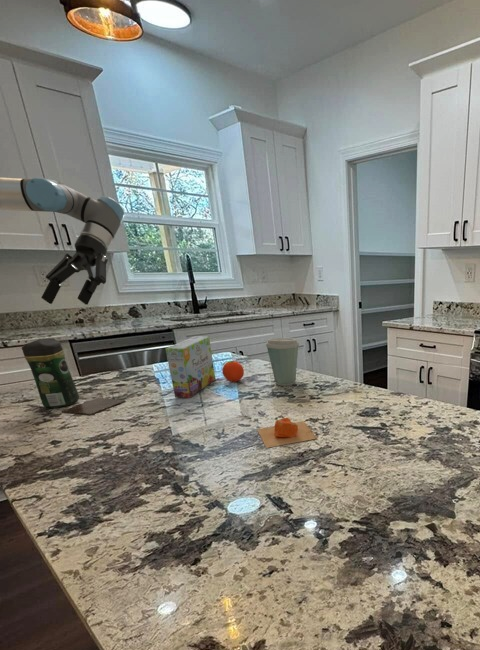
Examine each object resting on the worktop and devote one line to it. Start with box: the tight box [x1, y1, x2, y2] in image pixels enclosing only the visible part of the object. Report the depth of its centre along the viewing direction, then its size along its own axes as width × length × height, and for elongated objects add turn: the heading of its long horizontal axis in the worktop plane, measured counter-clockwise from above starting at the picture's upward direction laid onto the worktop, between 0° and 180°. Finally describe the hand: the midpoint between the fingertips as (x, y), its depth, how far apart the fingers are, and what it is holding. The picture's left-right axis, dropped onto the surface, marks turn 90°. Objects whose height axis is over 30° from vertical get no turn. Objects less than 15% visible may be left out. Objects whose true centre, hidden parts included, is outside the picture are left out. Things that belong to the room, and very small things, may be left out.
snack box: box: [165, 335, 217, 399], centre depth 133 cm, size 21×6×15 cm, turn 1°
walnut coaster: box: [61, 397, 126, 416], centre depth 120 cm, size 10×12×1 cm
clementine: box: [221, 360, 245, 383], centre depth 142 cm, size 8×7×7 cm
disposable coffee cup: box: [265, 337, 300, 387], centre depth 137 cm, size 11×11×15 cm
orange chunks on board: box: [257, 417, 318, 449], centre depth 100 cm, size 12×12×4 cm
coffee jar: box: [21, 337, 80, 409], centre depth 119 cm, size 10×8×19 cm
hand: (64, 301), depth 120 cm, fingers open, 13 cm apart
